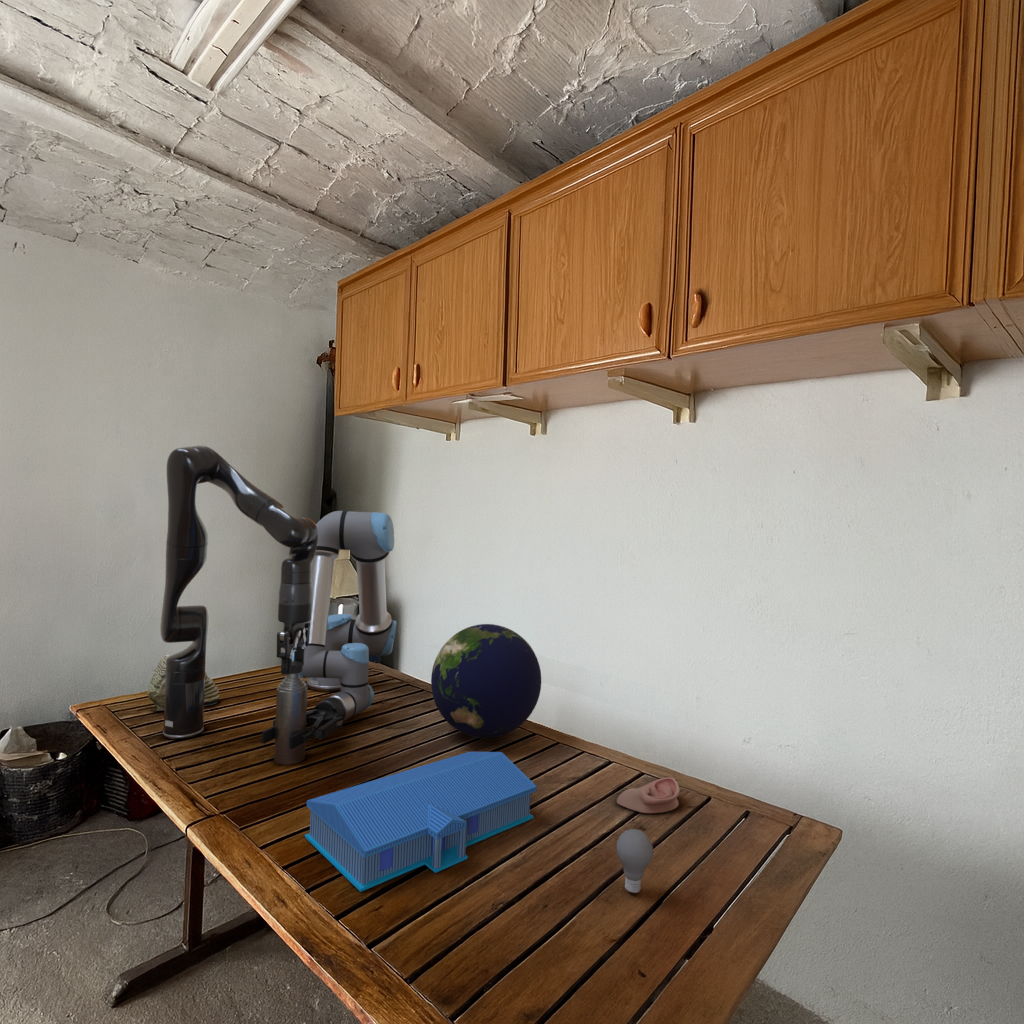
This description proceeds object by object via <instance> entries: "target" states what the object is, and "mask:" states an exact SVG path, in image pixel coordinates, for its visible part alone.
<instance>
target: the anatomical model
mask: <svg viewBox="0 0 1024 1024" xmlns="http://www.w3.org/2000/svg"><path fill="white" fill-rule="evenodd" d="M680 793H681V790H680V786H679V783H678V781H677V780H676V779H675V778H674V777H670V776H669V777H668V776H667V777H662V778H659V779H656V780H653V781H651V782H648V783H647V784H645V785H643V786H640V787H637V788H634V787H633V788H628V789H625V790H623V791H622V792H621V793H620V794H619V795H618V797H617V798H616V804H617V805H619V806H621V807H624V808H626V809H628V810H631V811H633V812H639V813H642V814H659V813H660V814H661V813H665V812H670V811H672V810H674V809H676V808H678V807H679V805H680V803H679V802H680V801H679V800H678V797H679V795H680Z"/></svg>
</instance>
